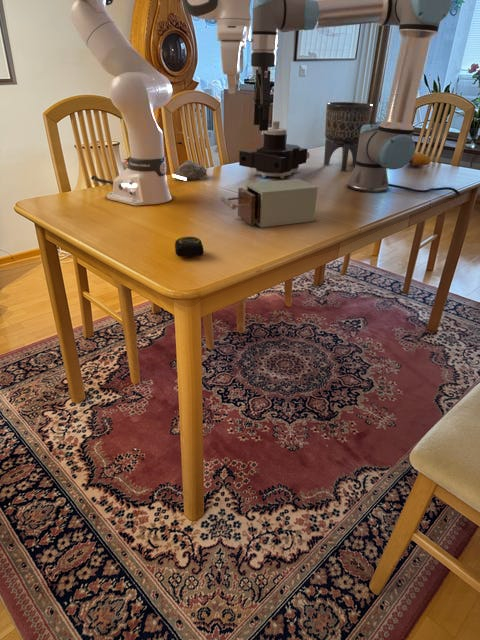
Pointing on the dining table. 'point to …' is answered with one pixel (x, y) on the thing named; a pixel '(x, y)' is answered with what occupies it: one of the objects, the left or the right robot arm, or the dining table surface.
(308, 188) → the cabinet
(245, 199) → the drawer
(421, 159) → the toy
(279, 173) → the mechanical component
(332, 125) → the planter
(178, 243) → the tape measure
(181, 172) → the rock
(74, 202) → the dining table surface
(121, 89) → the left robot arm
